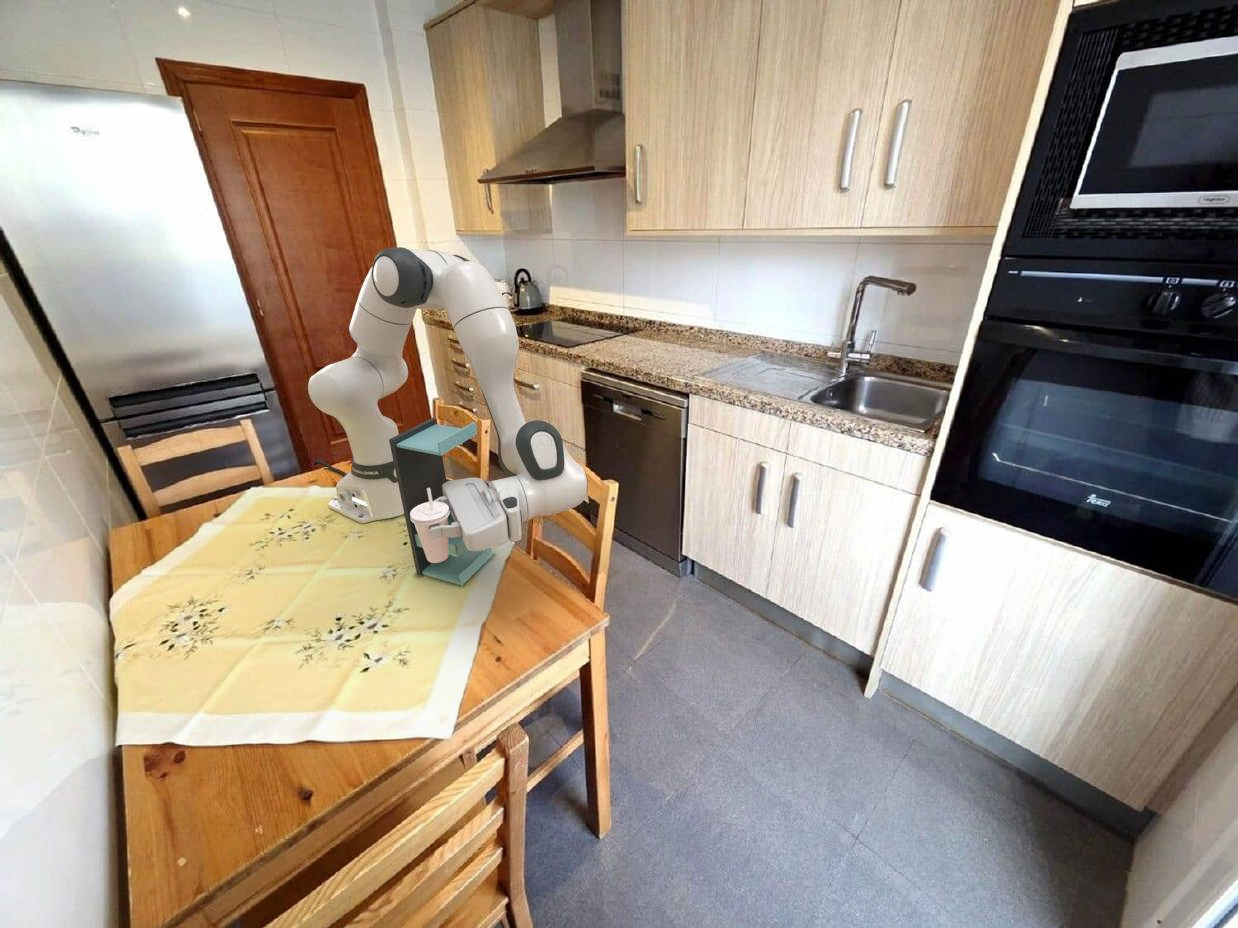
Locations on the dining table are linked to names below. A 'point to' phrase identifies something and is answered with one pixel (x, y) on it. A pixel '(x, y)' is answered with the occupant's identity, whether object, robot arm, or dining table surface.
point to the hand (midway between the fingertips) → (425, 521)
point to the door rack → (432, 493)
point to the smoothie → (426, 517)
